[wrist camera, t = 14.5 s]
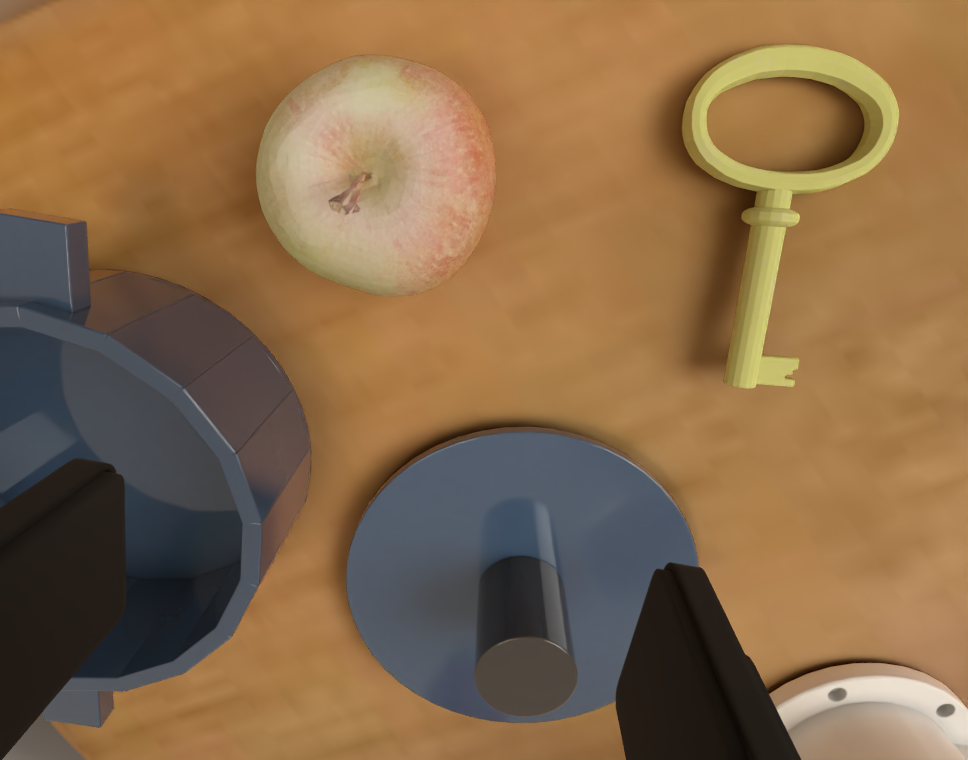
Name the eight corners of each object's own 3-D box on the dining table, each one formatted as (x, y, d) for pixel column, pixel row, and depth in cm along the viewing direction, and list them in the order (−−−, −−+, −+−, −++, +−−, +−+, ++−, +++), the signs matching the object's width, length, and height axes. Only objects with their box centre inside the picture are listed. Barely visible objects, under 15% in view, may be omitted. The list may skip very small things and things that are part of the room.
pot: (329, 236, 24) (273, 264, 18) (297, 648, 31) (250, 765, 25) (-72, 169, 24) (-264, 174, 18) (-11, 603, 31) (-134, 713, 25)
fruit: (386, 312, 25) (340, 381, 18) (260, 161, 23) (149, 165, 16) (538, 196, 24) (557, 216, 16) (416, 22, 22) (373, -47, 14)
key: (712, 386, 26) (731, 405, 24) (669, 72, 22) (687, 64, 20) (889, 347, 25) (923, 363, 23) (878, 15, 21) (918, 0, 19)
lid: (736, 451, 27) (801, 533, 21) (643, 723, 33) (675, 846, 27) (368, 392, 27) (332, 460, 21) (337, 679, 32) (302, 796, 26)
